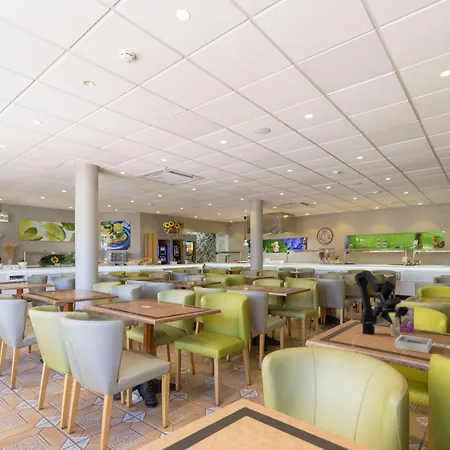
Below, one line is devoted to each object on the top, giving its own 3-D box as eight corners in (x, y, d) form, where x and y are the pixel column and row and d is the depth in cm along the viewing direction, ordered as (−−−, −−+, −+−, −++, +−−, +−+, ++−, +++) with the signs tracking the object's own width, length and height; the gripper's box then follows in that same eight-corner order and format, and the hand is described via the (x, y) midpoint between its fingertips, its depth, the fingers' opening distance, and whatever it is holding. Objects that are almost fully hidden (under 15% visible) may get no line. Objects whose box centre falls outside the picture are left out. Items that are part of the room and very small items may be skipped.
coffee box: (386, 323, 253) (386, 301, 254) (387, 325, 247) (387, 302, 248) (373, 323, 256) (372, 300, 257) (374, 324, 250) (373, 302, 250)
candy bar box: (394, 331, 231) (394, 306, 232) (395, 329, 235) (395, 305, 236) (414, 333, 225) (413, 307, 226) (414, 332, 229) (413, 306, 230)
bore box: (395, 347, 194) (394, 340, 194) (400, 341, 206) (400, 334, 207) (428, 353, 184) (427, 345, 184) (431, 346, 197) (431, 338, 197)
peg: (390, 336, 192) (390, 317, 193) (391, 334, 196) (390, 316, 196) (399, 337, 190) (399, 318, 191) (399, 335, 194) (399, 317, 195)
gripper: (374, 292, 198) (384, 316, 186) (406, 292, 199) (418, 315, 187) (368, 304, 205) (378, 327, 194) (399, 303, 206) (410, 327, 194)
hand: (396, 324), depth 192 cm, fingers closed on peg, 4 cm apart
